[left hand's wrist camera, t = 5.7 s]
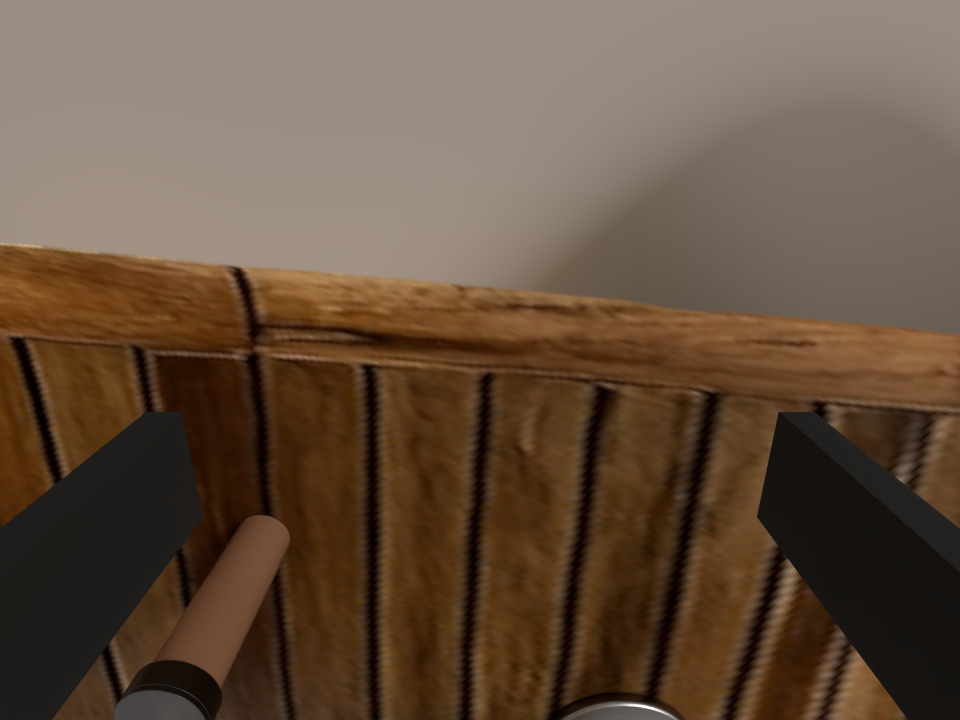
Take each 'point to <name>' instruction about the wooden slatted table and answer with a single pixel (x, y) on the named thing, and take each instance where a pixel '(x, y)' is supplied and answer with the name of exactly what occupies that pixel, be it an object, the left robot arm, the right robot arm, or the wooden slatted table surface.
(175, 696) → the lid
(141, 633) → the wooden slatted table surface
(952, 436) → the wooden slatted table surface
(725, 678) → the wooden slatted table surface
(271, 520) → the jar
